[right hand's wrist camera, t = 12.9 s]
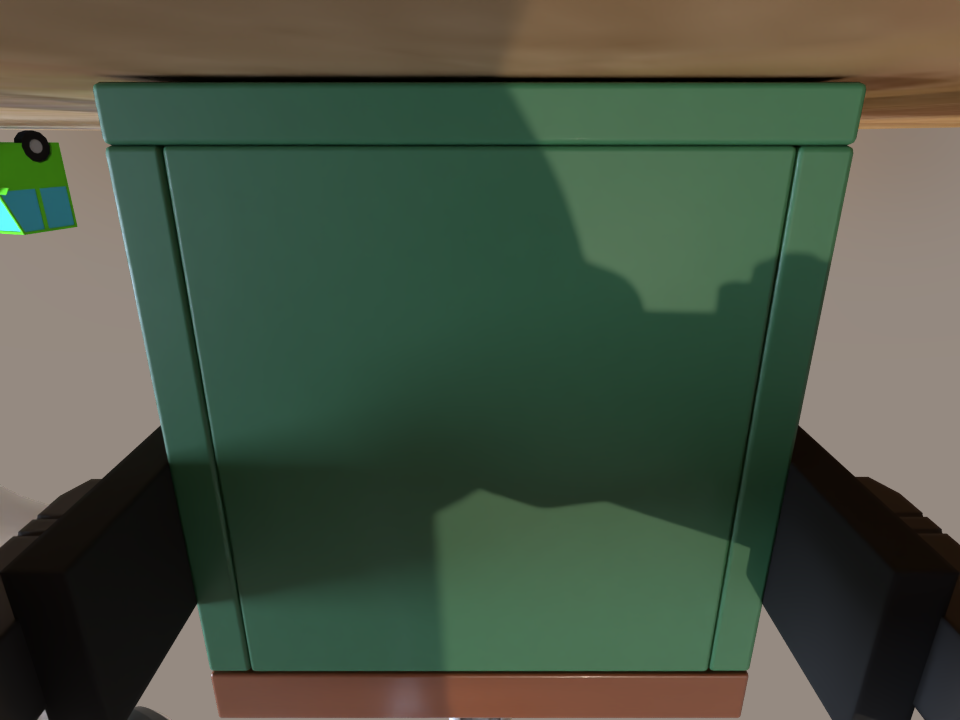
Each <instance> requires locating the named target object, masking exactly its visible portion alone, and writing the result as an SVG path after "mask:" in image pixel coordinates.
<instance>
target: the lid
mask: <svg viewBox="0 0 960 720" xmlns="http://www.w3.org/2000/svg"><path fill="white" fill-rule="evenodd" d="M211 678H212V683H213V688H214V693H215V698H216V703H217V708H218V713H219V716H220V717H221V718H738V717H740V715H741V710H742V705H743V700H744V695H745V690H746V686H747V680H748V673H747V671H746V670H745V671H713V670H710V669H709V667H708V669H707V670H705V671H254V670H253V669H252V667H251V668H250V669H249V670H247V671H213V672H212V674H211Z"/></svg>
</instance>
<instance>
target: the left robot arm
mask: <svg viewBox="0 0 960 720" xmlns="http://www.w3.org/2000/svg"><path fill="white" fill-rule="evenodd" d="M48 506H49V504H45V503H42V502H38V501H35V500H32V499H29V498H26V497H24V496H21V495H19V494H17V493H15V492H13V491H10V490H8V489H7V488H5V487H3V486H1V485H0V547H1V546H2V545H3V544H5V543H6V542H7V541H8V540H9V539H10V538H12V537H13V536H18V532H19V531H20V530H21V529H22V528H23V527H24V526H26V525H27V524H28V523H29V522H30V521H31V520H32V519H37V515H38V514H39V513H41V512H42V511H43V510H44V509H45V508H46V507H48ZM37 720H48V717H47V714H46V711H45V710H44V711H43V713H42V714H41V715H40V717H39V718H38V719H37ZM127 720H171V719H170V718H169V717H167V716H166V715H164V714H162V713H160V712H157V711H154V710H151V709H149V708H146V707H141V706H138V707H135V708H134V709H133V711H132V713H131V714H130V716H129V718H128V719H127ZM449 720H512V718H449Z"/></svg>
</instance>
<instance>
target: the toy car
mask: <svg viewBox="0 0 960 720" xmlns="http://www.w3.org/2000/svg"><path fill="white" fill-rule="evenodd" d="M72 227H77V223H76V219H75V214H74V209H73V205H72V201H71V196H70V192H69V187H68V183H67V179H66V174H65V170H64V165H63V161H62V157H61V152H60V147H59V143H48V142H47V139H46V138H45V137H44V136H43V135H42V134H41V133H39V132H36V131H22V132H19V133H18V134H17V135H16V136H15V138H14V142H0V233H3V234H19V235H26V234H33V233H40V232H46V231H53V230H59V229H66V228H72Z"/></svg>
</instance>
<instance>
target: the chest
mask: <svg viewBox="0 0 960 720" xmlns="http://www.w3.org/2000/svg"><path fill="white" fill-rule="evenodd" d="M93 92H94V96H95V101H96V106H97V111H98V116H99V121H100V126H101V131H102V136H103V139H104V141H105V142H106V143H108V144H110V145H112V146H110V147H108V148H106V157H107V162H108V167H109V171H110V176H111V181H112V186H113V191H114V196H115V201H116V206H117V211H118V216H119V221H120V226H121V231H122V235H123V240H124V246H125V250H126V255H127V260H128V265H129V270H130V275H131V280H132V285H133V290H134V295H135V300H136V305H137V310H138V315H139V320H140V324H141V329H142V334H143V339H144V344H145V349H146V354H147V359H148V364H149V369H150V374H151V379H152V384H153V389H154V394H155V399H156V403H157V408H158V413H159V418H160V423H161V428H162V433H163V438H164V443H165V448H166V453H167V458H168V463H169V468H170V473H171V478H172V483H173V487H174V492H175V497H176V502H177V507H178V512H179V517H180V522H181V527H182V532H183V537H184V542H185V547H186V552H187V557H188V561H189V566H190V571H191V576H192V581H193V586H194V591H195V596H196V601H197V606H198V611H199V616H200V621H201V625H202V631H203V636H204V640H205V645H206V650H207V655H208V660H209V665H210V669H211V670H213V671H247V670H249V669H250V668H251V667H252V669H253V670H254V671H705V670H707V669H708V667H709V669H710V670H713V671H745V670H748V669H749V666H750V662H751V657H752V652H753V647H754V642H755V637H756V632H757V627H758V622H759V617H760V612H761V607H762V602H763V597H764V593H765V588H766V583H767V578H768V573H769V568H770V563H771V558H772V553H773V548H774V543H775V538H776V533H777V528H778V523H779V518H780V513H781V508H782V503H783V498H784V493H785V489H786V484H787V479H788V474H789V469H790V464H791V459H792V454H793V449H794V444H795V439H796V434H797V429H798V424H799V419H800V414H801V409H802V404H803V399H804V394H805V389H806V385H807V379H808V375H809V370H810V365H811V360H812V355H813V350H814V345H815V340H816V335H817V330H818V325H819V320H820V315H821V310H822V305H823V300H824V295H825V290H826V285H827V280H828V276H829V271H830V265H831V260H832V256H833V251H834V246H835V241H836V236H837V231H838V226H839V221H840V216H841V211H842V206H843V201H844V196H845V191H846V186H847V182H848V177H849V171H850V167H851V162H852V157H853V149H852V148H851V147H849V146H847V145H849V144H851V143H853V142H854V141H855V139H856V137H857V132H858V127H859V122H860V117H861V112H862V107H863V102H864V97H865V92H866V86H865V85H864V84H862V83H860V82H99V83H97V84H95V85H94V87H93Z"/></svg>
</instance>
